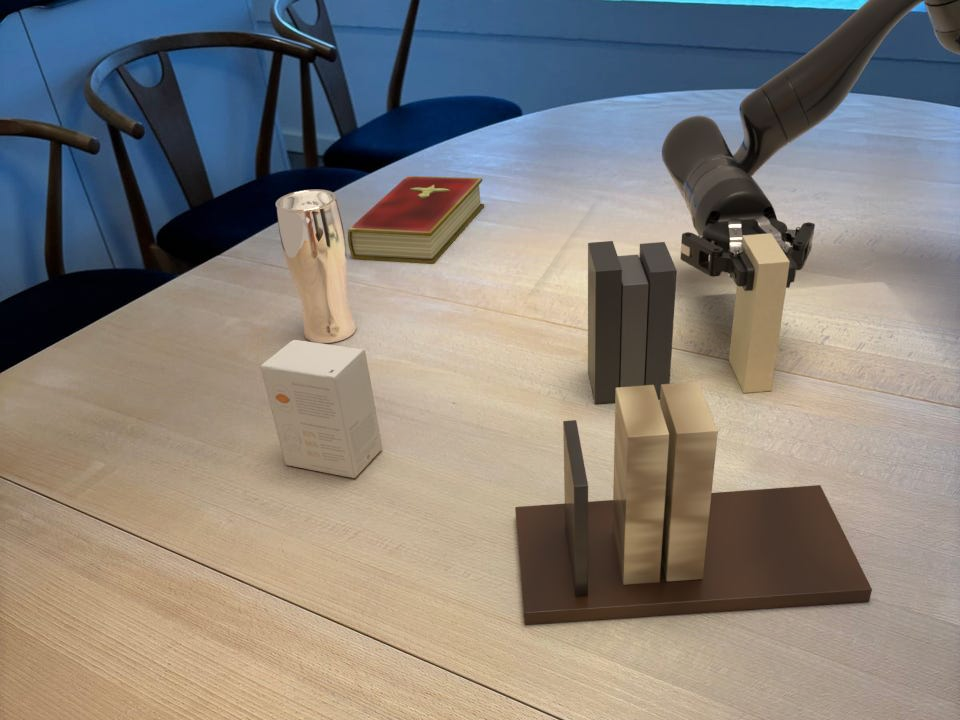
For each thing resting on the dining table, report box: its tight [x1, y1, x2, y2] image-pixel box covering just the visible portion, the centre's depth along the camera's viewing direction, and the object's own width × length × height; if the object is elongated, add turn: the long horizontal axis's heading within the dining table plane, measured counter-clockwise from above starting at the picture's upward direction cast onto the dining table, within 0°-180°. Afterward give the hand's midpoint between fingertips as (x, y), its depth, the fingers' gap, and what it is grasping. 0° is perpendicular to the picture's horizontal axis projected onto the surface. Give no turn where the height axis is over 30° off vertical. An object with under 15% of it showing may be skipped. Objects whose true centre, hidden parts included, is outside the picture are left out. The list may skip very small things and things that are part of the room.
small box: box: [260, 339, 383, 479], centre depth 91 cm, size 8×6×10 cm
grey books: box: [587, 240, 678, 405], centre depth 96 cm, size 7×7×14 cm
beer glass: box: [275, 188, 357, 344], centre depth 110 cm, size 7×7×15 cm
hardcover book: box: [347, 175, 485, 264], centre depth 135 cm, size 12×21×4 cm, turn 162°
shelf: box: [514, 381, 873, 625], centre depth 74 cm, size 26×14×14 cm, turn 91°
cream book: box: [728, 233, 790, 394], centre depth 96 cm, size 3×7×13 cm, turn 1°
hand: (769, 279), depth 91 cm, fingers closed on cream book, 3 cm apart
